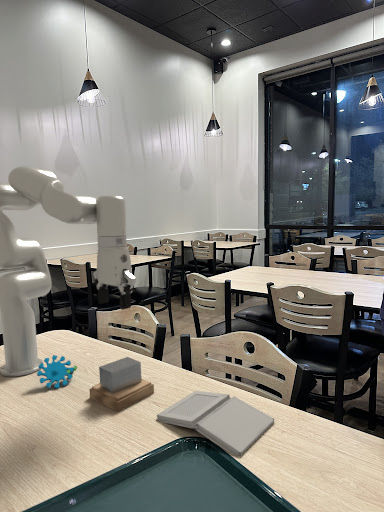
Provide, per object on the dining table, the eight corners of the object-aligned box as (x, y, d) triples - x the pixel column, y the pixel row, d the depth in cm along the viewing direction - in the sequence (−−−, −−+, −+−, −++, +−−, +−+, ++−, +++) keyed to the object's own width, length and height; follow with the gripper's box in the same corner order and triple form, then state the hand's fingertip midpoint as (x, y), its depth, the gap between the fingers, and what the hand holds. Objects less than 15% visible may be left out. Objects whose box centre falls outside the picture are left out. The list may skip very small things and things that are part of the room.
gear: (38, 389, 96) (36, 355, 102) (35, 397, 100) (34, 365, 106) (79, 383, 102) (76, 352, 108) (75, 392, 106) (72, 361, 111)
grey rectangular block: (128, 375, 99) (127, 356, 99) (141, 381, 95) (140, 362, 95) (100, 386, 93) (99, 366, 93) (112, 394, 89) (111, 373, 88)
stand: (89, 397, 94) (89, 386, 93) (125, 381, 103) (124, 371, 102) (118, 411, 86) (117, 400, 86) (154, 392, 95) (153, 382, 95)
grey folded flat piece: (275, 424, 79) (275, 409, 79) (240, 460, 68) (239, 442, 67) (196, 396, 94) (195, 382, 93) (156, 421, 82) (155, 406, 82)
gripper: (144, 243, 91) (146, 307, 93) (105, 241, 102) (107, 298, 104) (120, 244, 85) (123, 313, 87) (81, 242, 97) (84, 303, 99)
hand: (114, 305), depth 96 cm, fingers open, 9 cm apart
